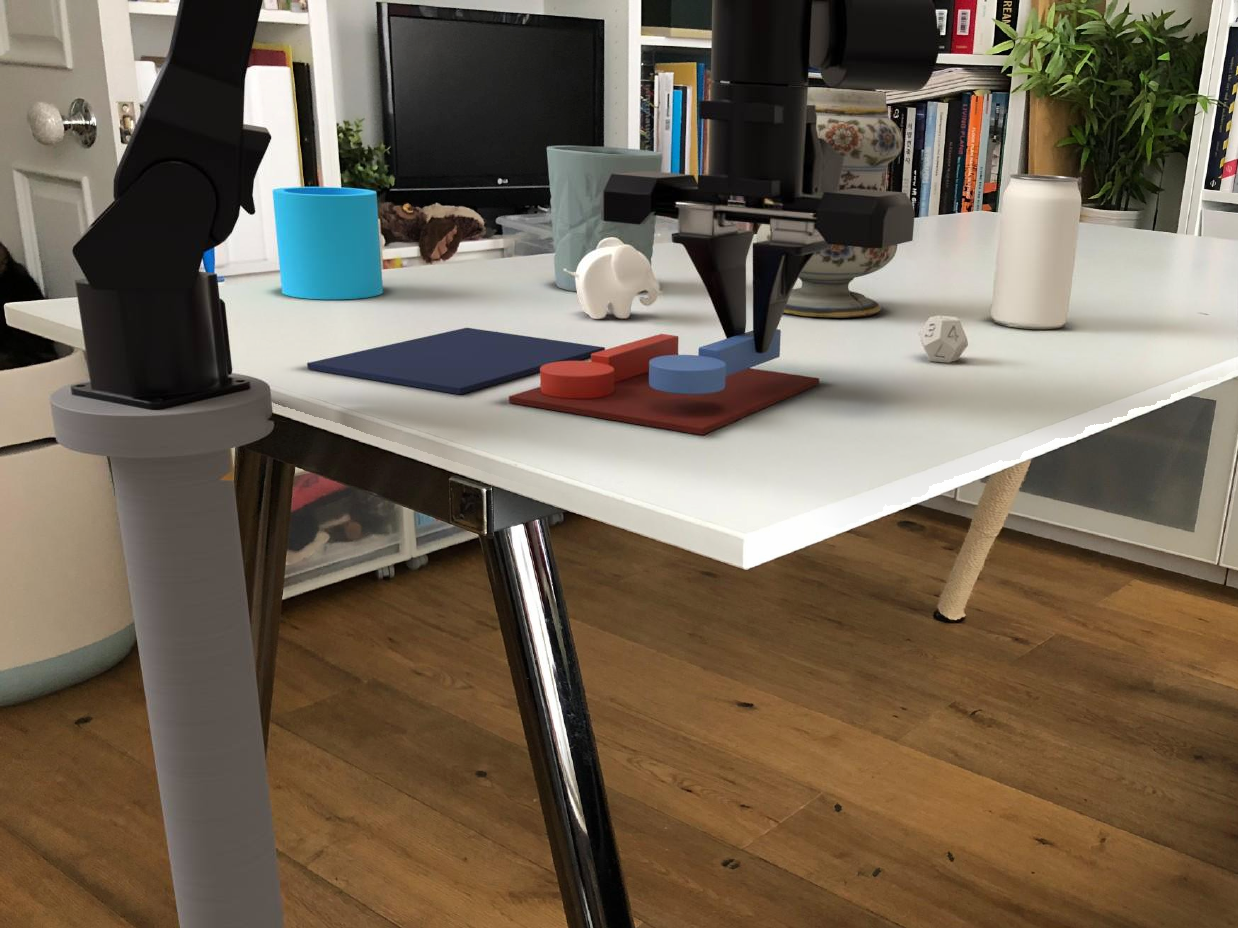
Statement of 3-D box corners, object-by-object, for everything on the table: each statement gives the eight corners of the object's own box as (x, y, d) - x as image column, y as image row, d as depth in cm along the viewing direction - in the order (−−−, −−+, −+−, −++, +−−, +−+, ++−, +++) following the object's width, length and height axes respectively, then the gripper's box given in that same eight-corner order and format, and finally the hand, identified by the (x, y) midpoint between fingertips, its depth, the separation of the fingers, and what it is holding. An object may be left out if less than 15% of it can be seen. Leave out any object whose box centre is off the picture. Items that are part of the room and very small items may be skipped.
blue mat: (460, 394, 78) (460, 388, 78) (307, 369, 83) (306, 363, 83) (605, 353, 92) (605, 347, 92) (466, 333, 97) (466, 327, 96)
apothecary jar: (885, 301, 120) (900, 91, 113) (899, 323, 109) (916, 92, 102) (753, 295, 120) (761, 84, 113) (754, 317, 108) (762, 84, 102)
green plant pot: (546, 277, 124) (543, 144, 119) (652, 278, 126) (653, 147, 122) (554, 294, 115) (551, 150, 110) (668, 295, 117) (670, 154, 113)
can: (1072, 332, 109) (1091, 181, 105) (995, 328, 109) (1011, 177, 105) (1059, 319, 115) (1076, 176, 111) (985, 315, 115) (999, 172, 111)
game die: (951, 354, 98) (955, 313, 96) (974, 364, 94) (979, 322, 93) (908, 355, 96) (912, 314, 95) (930, 365, 93) (934, 323, 92)
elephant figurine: (672, 323, 104) (673, 246, 102) (572, 324, 102) (571, 246, 99) (651, 308, 110) (651, 236, 108) (556, 309, 108) (555, 235, 105)
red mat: (702, 435, 72) (702, 428, 72) (508, 402, 77) (508, 396, 77) (819, 384, 86) (819, 378, 86) (648, 359, 91) (648, 353, 91)
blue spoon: (702, 398, 73) (703, 366, 72) (634, 387, 75) (634, 356, 74) (801, 360, 84) (802, 332, 84) (740, 351, 86) (741, 324, 85)
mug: (391, 298, 109) (385, 196, 106) (287, 300, 106) (278, 195, 103) (367, 277, 119) (360, 183, 116) (271, 279, 116) (262, 182, 113)
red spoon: (588, 403, 76) (588, 372, 76) (525, 392, 78) (524, 362, 77) (698, 365, 88) (698, 338, 87) (641, 357, 89) (641, 330, 89)
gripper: (954, 94, 80) (932, 349, 86) (687, 80, 87) (683, 316, 93) (889, 91, 70) (869, 378, 76) (595, 76, 77) (596, 340, 83)
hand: (749, 350), depth 82 cm, fingers closed on blue spoon, 1 cm apart
